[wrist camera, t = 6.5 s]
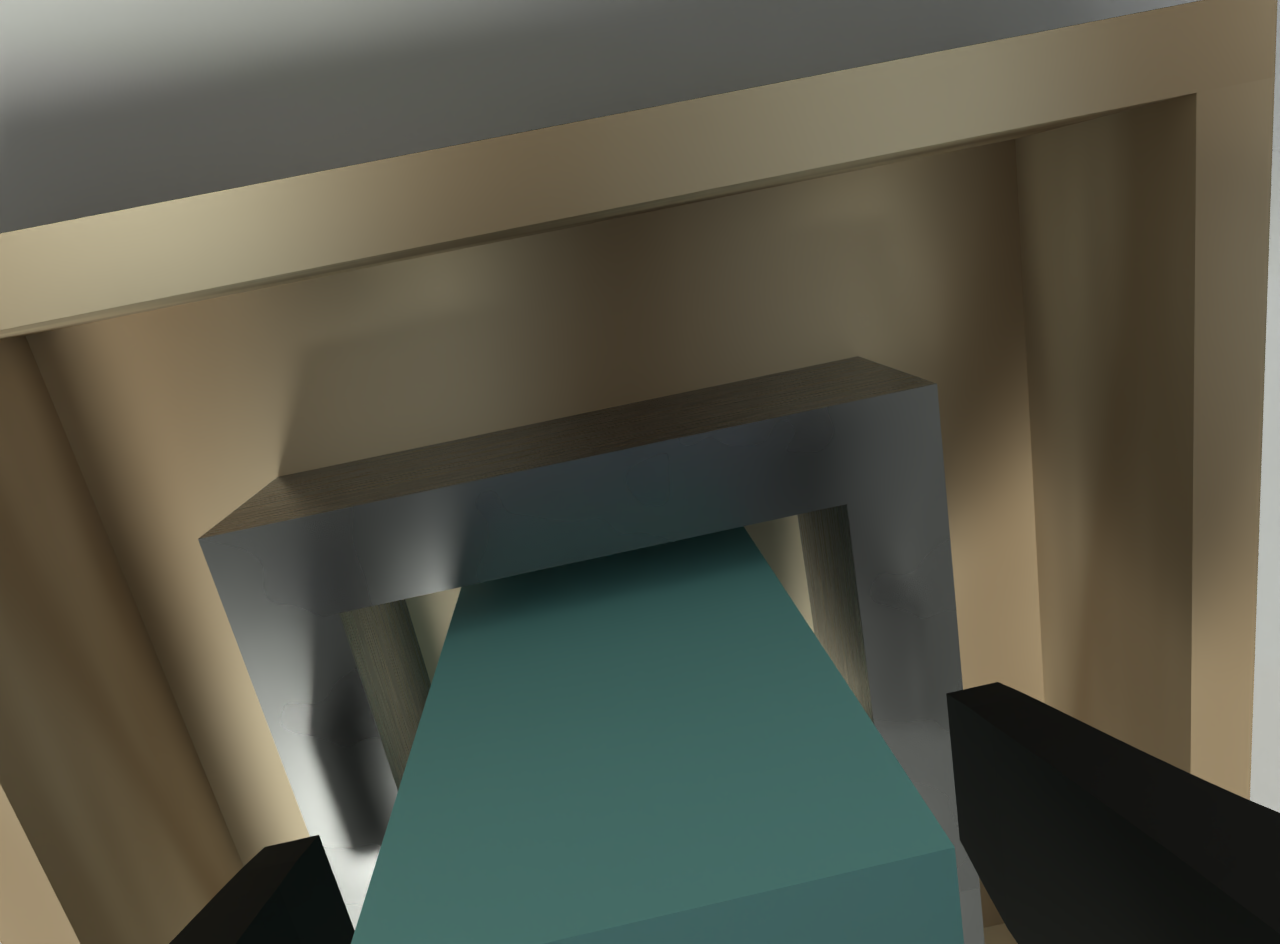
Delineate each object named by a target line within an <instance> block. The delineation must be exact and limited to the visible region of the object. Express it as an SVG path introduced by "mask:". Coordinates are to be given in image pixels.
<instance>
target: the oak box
mask: <svg viewBox="0 0 1280 944" xmlns="http://www.w3.org/2000/svg"><path fill="white" fill-rule="evenodd" d="M1276 24H1277V0H1202V1H1196V2H1191V3H1186V4H1181V5H1176V6H1171V7H1165V8H1160V9H1155V10H1150V11H1145V12H1140V13H1134V14H1129V15H1124V16H1119V17H1114V18H1109V19H1104V20H1098V21H1093V22H1088V23H1083V24H1078V25H1073V26H1067V27H1062V28H1057V29H1052V30H1047V31H1042V32H1037V33H1031V34H1026V35H1021V36H1016V37H1011V38H1006V39H1000V40H995V41H990V42H985V43H980V44H975V45H970V46H964V47H959V48H954V49H949V50H944V51H939V52H933V53H928V54H923V55H918V56H913V57H908V58H903V59H897V60H892V61H887V62H882V63H877V64H872V65H866V66H861V67H856V68H851V69H846V70H841V71H835V72H830V73H825V74H820V75H815V76H810V77H805V78H799V79H794V80H789V81H784V82H779V83H774V84H768V85H763V86H758V87H753V88H748V89H743V90H738V91H732V92H727V93H722V94H717V95H712V96H707V97H701V98H696V99H691V100H686V101H681V102H676V103H671V104H665V105H660V106H655V107H650V108H645V109H640V110H634V111H629V112H624V113H619V114H614V115H609V116H603V117H598V118H593V119H588V120H583V121H578V122H573V123H567V124H562V125H557V126H552V127H547V128H542V129H536V130H531V131H526V132H521V133H516V134H511V135H506V136H500V137H495V138H490V139H485V140H480V141H475V142H469V143H464V144H459V145H454V146H449V147H444V148H439V149H433V150H428V151H423V152H418V153H413V154H408V155H402V156H397V157H392V158H387V159H382V160H377V161H372V162H366V163H361V164H356V165H351V166H346V167H341V168H335V169H330V170H325V171H320V172H315V173H310V174H304V175H299V176H294V177H289V178H284V179H279V180H274V181H268V182H263V183H258V184H253V185H248V186H243V187H237V188H232V189H227V190H222V191H217V192H212V193H207V194H201V195H196V196H191V197H186V198H181V199H176V200H170V201H165V202H160V203H155V204H150V205H145V206H140V207H134V208H129V209H124V210H119V211H114V212H109V213H103V214H98V215H93V216H88V217H83V218H78V219H72V220H67V221H62V222H57V223H52V224H47V225H42V226H36V227H31V228H26V229H21V230H16V231H11V232H5V233H0V942H1V944H169V943H170V942H171V941H172V940H173V939H174V938H175V937H176V936H177V935H178V934H179V933H180V932H181V931H182V930H183V929H184V927H185V926H186V925H187V924H188V923H189V922H190V921H191V920H192V919H193V918H194V917H195V916H196V915H197V914H198V913H199V912H200V911H201V910H202V909H203V908H204V907H205V905H206V904H207V903H208V902H209V901H210V900H211V899H212V898H213V897H214V896H215V895H216V894H217V893H218V892H219V891H220V890H221V889H222V888H223V887H224V886H225V885H226V884H227V883H228V882H229V881H230V880H231V879H232V878H233V877H234V876H235V875H236V874H237V873H238V872H239V871H240V870H241V869H242V868H243V867H244V866H245V865H246V864H247V863H248V862H249V861H250V860H251V859H252V858H253V857H254V856H255V855H256V854H258V853H259V852H260V851H261V850H262V849H263V848H264V847H267V846H271V845H276V844H280V843H285V842H289V841H293V840H298V839H302V838H307V837H310V835H309V833H308V830H307V827H306V825H305V822H304V820H303V817H302V814H301V812H300V809H299V806H298V804H297V801H296V798H295V796H294V793H293V790H292V788H291V785H290V782H289V780H288V777H287V774H286V772H285V769H284V766H283V764H282V761H281V759H280V756H279V753H278V751H277V748H276V745H275V743H274V740H273V737H272V735H271V732H270V729H269V727H268V724H267V721H266V719H265V716H264V713H263V711H262V708H261V705H260V703H259V700H258V697H257V695H256V692H255V690H254V687H253V684H252V682H251V679H250V676H249V674H248V671H247V668H246V666H245V663H244V660H243V658H242V655H241V652H240V650H239V647H238V644H237V642H236V639H235V636H234V634H233V631H232V628H231V626H230V623H229V621H228V618H227V615H226V613H225V610H224V607H223V605H222V602H221V599H220V597H219V594H218V591H217V589H216V586H215V583H214V581H213V578H212V575H211V573H210V570H209V567H208V565H207V562H206V559H205V557H204V554H203V552H202V549H201V546H200V544H199V541H198V538H200V537H201V536H202V535H204V534H205V533H206V532H207V531H209V530H210V529H211V528H213V527H214V526H215V525H216V524H218V523H219V522H220V521H222V520H223V519H224V518H225V517H227V516H228V515H229V514H231V513H232V512H233V511H234V510H236V509H237V508H238V507H240V506H241V505H242V504H243V503H245V502H246V501H247V500H249V499H250V498H251V497H252V496H254V495H255V494H256V493H258V492H259V491H260V490H261V489H263V488H264V487H265V486H267V485H268V484H269V483H270V482H272V481H273V480H274V479H276V478H277V477H279V476H284V475H289V474H294V473H299V472H303V471H308V470H313V469H318V468H323V467H328V466H332V465H337V464H342V463H347V462H352V461H356V460H361V459H366V458H371V457H376V456H380V455H385V454H390V453H395V452H400V451H404V450H409V449H414V448H419V447H424V446H429V445H433V444H438V443H443V442H448V441H453V440H457V439H462V438H467V437H472V436H477V435H481V434H486V433H491V432H496V431H501V430H505V429H510V428H515V427H520V426H525V425H529V424H534V423H539V422H544V421H549V420H554V419H558V418H563V417H568V416H573V415H578V414H582V413H587V412H592V411H597V410H602V409H606V408H611V407H616V406H621V405H626V404H630V403H635V402H640V401H645V400H650V399H655V398H659V397H664V396H669V395H674V394H679V393H683V392H688V391H693V390H698V389H703V388H707V387H712V386H717V385H722V384H727V383H731V382H736V381H741V380H746V379H751V378H755V377H760V376H765V375H770V374H775V373H780V372H784V371H789V370H794V369H799V368H804V367H808V366H813V365H818V364H823V363H828V362H832V361H837V360H842V359H847V358H852V357H856V356H859V357H862V358H865V359H868V360H870V361H873V362H876V363H879V364H882V365H885V366H888V367H891V368H893V369H896V370H899V371H902V372H905V373H908V374H911V375H914V376H917V377H919V378H922V379H925V380H928V381H931V382H934V383H937V388H938V400H939V412H940V424H941V435H942V447H943V459H944V471H945V482H946V494H947V506H948V518H949V529H950V541H951V553H952V565H953V576H954V588H955V600H956V612H957V623H958V635H959V647H960V659H961V671H962V682H963V690H964V689H968V688H973V687H977V686H982V685H986V684H990V683H995V682H999V683H1002V684H1004V685H1006V686H1009V687H1011V688H1013V689H1015V690H1018V691H1020V692H1022V693H1024V694H1026V695H1028V696H1030V697H1033V698H1035V699H1037V700H1039V701H1041V702H1043V703H1045V704H1047V705H1049V706H1051V707H1053V708H1055V709H1057V710H1059V711H1061V712H1063V713H1066V714H1068V715H1070V716H1072V717H1074V718H1076V719H1078V720H1080V721H1082V722H1084V723H1086V724H1088V725H1090V726H1092V727H1094V728H1096V729H1098V730H1100V731H1102V732H1104V733H1106V734H1108V735H1110V736H1112V737H1114V738H1116V739H1119V740H1121V741H1123V742H1125V743H1127V744H1129V745H1131V746H1133V747H1135V748H1137V749H1139V750H1141V751H1143V752H1146V753H1148V754H1150V755H1152V756H1154V757H1156V758H1158V759H1160V760H1162V761H1165V762H1167V763H1169V764H1171V765H1173V766H1175V767H1177V768H1179V769H1181V770H1184V771H1186V772H1188V773H1190V774H1192V775H1195V776H1197V777H1199V778H1201V779H1203V780H1205V781H1208V782H1210V783H1212V784H1214V785H1216V786H1219V787H1221V788H1223V789H1225V790H1228V791H1230V792H1232V793H1234V794H1237V795H1239V796H1241V797H1243V798H1246V799H1248V800H1250V777H1251V748H1252V719H1253V690H1254V661H1255V632H1256V603H1257V574H1258V545H1259V516H1260V487H1261V458H1262V429H1263V400H1264V372H1265V343H1266V314H1267V285H1268V256H1269V227H1270V198H1271V169H1272V140H1273V111H1274V82H1275V53H1276ZM744 528H745V529H746V531H747V532H748V534H749V535H750V537H751V538H752V540H753V541H754V543H755V544H756V546H757V548H758V549H759V551H760V552H761V554H762V555H763V557H764V558H765V560H766V561H767V563H768V564H769V566H770V567H771V569H772V570H773V572H774V573H775V575H776V576H777V578H778V579H779V581H780V582H781V584H782V585H783V587H784V589H785V590H786V592H787V593H788V595H789V596H790V598H791V599H792V601H793V602H794V604H795V605H796V607H797V608H798V610H799V611H800V613H801V614H802V616H803V617H804V619H805V620H806V622H807V623H808V625H809V627H810V628H811V630H812V631H813V633H814V628H813V621H812V614H811V607H810V600H809V593H808V586H807V579H806V572H805V565H804V558H803V551H802V544H801V537H800V530H799V523H798V516H797V515H794V516H789V517H784V518H780V519H775V520H770V521H766V522H761V523H756V524H752V525H747V526H744ZM460 590H461V587H459V588H454V589H449V590H445V591H440V592H436V593H431V594H426V595H422V596H417V597H412V598H408V599H405V600H406V604H407V607H408V610H409V614H410V617H411V620H412V623H413V627H414V630H415V633H416V637H417V640H418V643H419V647H420V650H421V653H422V656H423V660H424V663H425V666H426V670H427V673H428V676H429V679H430V683H432V680H433V677H434V674H435V670H436V667H437V664H438V661H439V658H440V654H441V651H442V648H443V645H444V641H445V638H446V635H447V632H448V628H449V625H450V622H451V619H452V616H453V612H454V609H455V606H456V603H457V599H458V596H459V593H460ZM979 882H980V894H981V906H982V917H983V929H984V941H985V944H1018V943H1017V942H1016V940H1015V939H1014V937H1013V936H1012V934H1011V933H1010V931H1009V930H1008V928H1007V927H1006V925H1005V923H1004V921H1003V920H1002V918H1001V916H1000V914H999V912H998V911H997V909H996V907H995V905H994V903H993V902H992V900H991V898H990V896H989V894H988V893H987V891H986V889H985V887H984V885H983V883H982V881H981V879H980V878H979Z"/></svg>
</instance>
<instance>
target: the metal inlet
mask: <svg viewBox="0 0 1280 944" xmlns="http://www.w3.org/2000/svg"><path fill="white" fill-rule="evenodd" d="M794 515H797V516H798V523H799V530H800V537H801V544H802V551H803V558H804V565H805V572H806V579H807V586H808V593H809V600H810V607H811V614H812V621H813V628H814V634H815V636H816V637H817V639H818V640H819V642H820V643H821V645H822V646H823V648H824V649H825V651H826V652H827V654H828V655H829V657H830V658H831V660H832V661H833V663H834V664H835V666H836V668H837V669H838V671H839V672H840V674H841V675H842V677H843V678H844V680H845V681H846V683H847V684H848V686H849V687H850V689H851V690H852V692H853V693H854V695H855V696H856V698H857V699H858V701H859V702H860V704H861V706H862V707H863V709H864V710H865V712H866V713H867V715H868V716H869V718H870V719H871V721H872V722H873V724H874V725H875V727H876V728H877V730H878V731H879V733H880V734H881V736H882V737H883V739H884V740H885V742H886V744H887V745H888V747H889V748H890V750H891V751H892V753H893V754H894V756H895V757H896V759H897V760H898V762H899V763H900V765H901V766H902V768H903V769H904V771H905V772H906V774H907V775H908V777H909V778H910V780H911V781H912V783H913V785H914V786H915V788H916V789H917V791H918V792H919V794H920V795H921V797H922V798H923V800H924V801H925V803H926V804H927V806H928V807H929V809H930V810H931V812H932V813H933V815H934V816H935V818H936V819H937V821H938V823H939V824H940V826H941V827H942V829H943V830H944V832H945V833H946V835H947V836H948V838H949V839H950V841H951V842H952V844H953V845H954V847H955V855H956V865H957V876H958V886H959V896H960V907H961V917H962V927H963V938H964V944H985V941H984V929H983V917H982V906H981V894H980V882H979V876H978V874H977V872H976V870H975V868H974V866H973V864H972V862H971V860H970V858H969V857H968V855H967V853H966V851H965V849H964V847H963V845H962V843H961V841H960V838H959V827H958V816H957V805H956V794H955V784H954V773H953V762H952V751H951V740H950V729H949V718H948V708H947V697H946V693H950V692H955V691H959V690H963V682H962V671H961V659H960V647H959V635H958V623H957V612H956V600H955V588H954V576H953V565H952V553H951V541H950V529H949V518H948V506H947V494H946V482H945V471H944V459H943V447H942V435H941V424H940V412H939V400H938V388H937V383H934V382H931V381H928V380H925V379H922V378H919V377H917V376H914V375H911V374H908V373H905V372H902V371H899V370H896V369H893V368H891V367H888V366H885V365H882V364H879V363H876V362H873V361H870V360H868V359H865V358H862V357H859V356H856V357H852V358H847V359H842V360H837V361H832V362H828V363H823V364H818V365H813V366H808V367H804V368H799V369H794V370H789V371H784V372H780V373H775V374H770V375H765V376H760V377H755V378H751V379H746V380H741V381H736V382H731V383H727V384H722V385H717V386H712V387H707V388H703V389H698V390H693V391H688V392H683V393H679V394H674V395H669V396H664V397H659V398H655V399H650V400H645V401H640V402H635V403H630V404H626V405H621V406H616V407H611V408H606V409H602V410H597V411H592V412H587V413H582V414H578V415H573V416H568V417H563V418H558V419H554V420H549V421H544V422H539V423H534V424H529V425H525V426H520V427H515V428H510V429H505V430H501V431H496V432H491V433H486V434H481V435H477V436H472V437H467V438H462V439H457V440H453V441H448V442H443V443H438V444H433V445H429V446H424V447H419V448H414V449H409V450H404V451H400V452H395V453H390V454H385V455H380V456H376V457H371V458H366V459H361V460H356V461H352V462H347V463H342V464H337V465H332V466H328V467H323V468H318V469H313V470H308V471H303V472H299V473H294V474H289V475H284V476H279V477H277V478H276V479H274V480H273V481H272V482H270V483H269V484H268V485H267V486H265V487H264V488H263V489H261V490H260V491H259V492H258V493H256V494H255V495H254V496H252V497H251V498H250V499H249V500H247V501H246V502H245V503H243V504H242V505H241V506H240V507H238V508H237V509H236V510H234V511H233V512H232V513H231V514H229V515H228V516H227V517H225V518H224V519H223V520H222V521H220V522H219V523H218V524H216V525H215V526H214V527H213V528H211V529H210V530H209V531H207V532H206V533H205V534H204V535H202V536H201V537H200V538H198V541H199V544H200V546H201V549H202V552H203V554H204V557H205V559H206V562H207V565H208V567H209V570H210V573H211V575H212V578H213V581H214V583H215V586H216V589H217V591H218V594H219V597H220V599H221V602H222V605H223V607H224V610H225V613H226V615H227V618H228V621H229V623H230V626H231V628H232V631H233V634H234V636H235V639H236V642H237V644H238V647H239V650H240V652H241V655H242V658H243V660H244V663H245V666H246V668H247V671H248V674H249V676H250V679H251V682H252V684H253V687H254V690H255V692H256V695H257V697H258V700H259V703H260V705H261V708H262V711H263V713H264V716H265V719H266V721H267V724H268V727H269V729H270V732H271V735H272V737H273V740H274V743H275V745H276V748H277V751H278V753H279V756H280V759H281V761H282V764H283V766H284V769H285V772H286V774H287V777H288V780H289V782H290V785H291V788H292V790H293V793H294V796H295V798H296V801H297V804H298V806H299V809H300V812H301V814H302V817H303V820H304V822H305V825H306V827H307V830H308V833H309V835H310V837H311V836H316V835H319V836H320V839H321V841H322V844H323V847H324V850H325V852H326V855H327V858H328V860H329V863H330V866H331V868H332V871H333V874H334V876H335V879H336V882H337V884H338V887H339V890H340V892H341V895H342V898H343V901H344V903H345V906H346V909H347V911H348V914H349V917H350V919H351V922H352V925H353V927H354V930H355V929H356V926H357V922H358V919H359V916H360V913H361V909H362V906H363V903H364V900H365V896H366V893H367V890H368V887H369V884H370V880H371V877H372V874H373V871H374V867H375V864H376V861H377V858H378V854H379V851H380V848H381V845H382V842H383V838H384V835H385V832H386V829H387V825H388V822H389V819H390V816H391V813H392V809H393V806H394V803H395V800H396V796H397V793H398V790H399V787H400V783H401V780H402V777H403V774H404V771H405V767H406V764H407V761H408V758H409V754H410V751H411V748H412V745H413V741H414V738H415V735H416V732H417V729H418V725H419V722H420V719H421V716H422V712H423V709H424V706H425V703H426V699H427V696H428V693H429V690H430V687H431V683H430V679H429V676H428V673H427V670H426V666H425V663H424V660H423V656H422V653H421V650H420V647H419V643H418V640H417V637H416V633H415V630H414V627H413V623H412V620H411V617H410V614H409V610H408V607H407V604H406V600H405V599H408V598H412V597H417V596H422V595H426V594H431V593H436V592H440V591H445V590H449V589H454V588H459V587H463V586H468V585H473V584H477V583H482V582H487V581H491V580H496V579H501V578H505V577H510V576H515V575H519V574H524V573H529V572H533V571H538V570H542V569H547V568H552V567H556V566H561V565H566V564H570V563H575V562H580V561H584V560H589V559H594V558H598V557H603V556H608V555H612V554H617V553H622V552H626V551H631V550H636V549H640V548H645V547H649V546H654V545H659V544H663V543H668V542H673V541H677V540H682V539H687V538H691V537H696V536H701V535H705V534H710V533H715V532H719V531H724V530H729V529H733V528H738V527H742V526H747V525H752V524H756V523H761V522H766V521H770V520H775V519H780V518H784V517H789V516H794Z"/></svg>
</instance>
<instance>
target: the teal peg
mask: <svg viewBox="0 0 1280 944" xmlns="http://www.w3.org/2000/svg"><path fill="white" fill-rule="evenodd" d="M351 944H964V938H963V927H962V917H961V907H960V896H959V886H958V876H957V865H956V855H955V847H954V845H953V844H952V842H951V841H950V839H949V838H948V836H947V835H946V833H945V832H944V830H943V829H942V827H941V826H940V824H939V823H938V821H937V819H936V818H935V816H934V815H933V813H932V812H931V810H930V809H929V807H928V806H927V804H926V803H925V801H924V800H923V798H922V797H921V795H920V794H919V792H918V791H917V789H916V788H915V786H914V785H913V783H912V781H911V780H910V778H909V777H908V775H907V774H906V772H905V771H904V769H903V768H902V766H901V765H900V763H899V762H898V760H897V759H896V757H895V756H894V754H893V753H892V751H891V750H890V748H889V747H888V745H887V744H886V742H885V740H884V739H883V737H882V736H881V734H880V733H879V731H878V730H877V728H876V727H875V725H874V724H873V722H872V721H871V719H870V718H869V716H868V715H867V713H866V712H865V710H864V709H863V707H862V706H861V704H860V702H859V701H858V699H857V698H856V696H855V695H854V693H853V692H852V690H851V689H850V687H849V686H848V684H847V683H846V681H845V680H844V678H843V677H842V675H841V674H840V672H839V671H838V669H837V668H836V666H835V664H834V663H833V661H832V660H831V658H830V657H829V655H828V654H827V652H826V651H825V649H824V648H823V646H822V645H821V643H820V642H819V640H818V639H817V637H816V636H815V634H814V633H813V631H812V630H811V628H810V627H809V625H808V623H807V622H806V620H805V619H804V617H803V616H802V614H801V613H800V611H799V610H798V608H797V607H796V605H795V604H794V602H793V601H792V599H791V598H790V596H789V595H788V593H787V592H786V590H785V589H784V587H783V585H782V584H781V582H780V581H779V579H778V578H777V576H776V575H775V573H774V572H773V570H772V569H771V567H770V566H769V564H768V563H767V561H766V560H765V558H764V557H763V555H762V554H761V552H760V551H759V549H758V548H757V546H756V544H755V543H754V541H753V540H752V538H751V537H750V535H749V534H748V532H747V531H746V529H745V528H744V526H742V527H738V528H733V529H729V530H724V531H719V532H715V533H710V534H705V535H701V536H696V537H691V538H687V539H682V540H677V541H673V542H668V543H663V544H659V545H654V546H649V547H645V548H640V549H636V550H631V551H626V552H622V553H617V554H612V555H608V556H603V557H598V558H594V559H589V560H584V561H580V562H575V563H570V564H566V565H561V566H556V567H552V568H547V569H542V570H538V571H533V572H529V573H524V574H519V575H515V576H510V577H505V578H501V579H496V580H491V581H487V582H482V583H477V584H473V585H468V586H463V587H461V590H460V593H459V596H458V599H457V603H456V606H455V609H454V612H453V616H452V619H451V622H450V625H449V628H448V632H447V635H446V638H445V641H444V645H443V648H442V651H441V654H440V658H439V661H438V664H437V667H436V670H435V674H434V677H433V680H432V683H431V687H430V690H429V693H428V696H427V699H426V703H425V706H424V709H423V712H422V716H421V719H420V722H419V725H418V729H417V732H416V735H415V738H414V741H413V745H412V748H411V751H410V754H409V758H408V761H407V764H406V767H405V771H404V774H403V777H402V780H401V783H400V787H399V790H398V793H397V796H396V800H395V803H394V806H393V809H392V813H391V816H390V819H389V822H388V825H387V829H386V832H385V835H384V838H383V842H382V845H381V848H380V851H379V854H378V858H377V861H376V864H375V867H374V871H373V874H372V877H371V880H370V884H369V887H368V890H367V893H366V896H365V900H364V903H363V906H362V909H361V913H360V916H359V919H358V922H357V926H356V929H355V932H354V935H353V938H352V942H351Z"/></svg>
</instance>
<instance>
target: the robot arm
mask: <svg viewBox="0 0 1280 944" xmlns="http://www.w3.org/2000/svg"><path fill="white" fill-rule="evenodd" d="M946 697H947V708H948V718H949V729H950V740H951V751H952V762H953V773H954V784H955V794H956V805H957V816H958V827H959V838H960V841H961V843H962V845H963V847H964V849H965V851H966V853H967V855H968V857H969V858H970V860H971V862H972V864H973V866H974V868H975V870H976V872H977V874H978V876H979V878H980V879H981V881H982V883H983V885H984V887H985V889H986V891H987V893H988V894H989V896H990V898H991V900H992V902H993V903H994V905H995V907H996V909H997V911H998V912H999V914H1000V916H1001V918H1002V920H1003V921H1004V923H1005V925H1006V927H1007V928H1008V930H1009V931H1010V933H1011V934H1012V936H1013V937H1014V939H1015V940H1016V942H1017V943H1018V944H1280V813H1278V812H1276V811H1274V810H1271V809H1269V808H1267V807H1264V806H1262V805H1259V804H1257V803H1255V802H1252V801H1250V800H1248V799H1246V798H1243V797H1241V796H1239V795H1237V794H1234V793H1232V792H1230V791H1228V790H1225V789H1223V788H1221V787H1219V786H1216V785H1214V784H1212V783H1210V782H1208V781H1205V780H1203V779H1201V778H1199V777H1197V776H1195V775H1192V774H1190V773H1188V772H1186V771H1184V770H1181V769H1179V768H1177V767H1175V766H1173V765H1171V764H1169V763H1167V762H1165V761H1162V760H1160V759H1158V758H1156V757H1154V756H1152V755H1150V754H1148V753H1146V752H1143V751H1141V750H1139V749H1137V748H1135V747H1133V746H1131V745H1129V744H1127V743H1125V742H1123V741H1121V740H1119V739H1116V738H1114V737H1112V736H1110V735H1108V734H1106V733H1104V732H1102V731H1100V730H1098V729H1096V728H1094V727H1092V726H1090V725H1088V724H1086V723H1084V722H1082V721H1080V720H1078V719H1076V718H1074V717H1072V716H1070V715H1068V714H1066V713H1063V712H1061V711H1059V710H1057V709H1055V708H1053V707H1051V706H1049V705H1047V704H1045V703H1043V702H1041V701H1039V700H1037V699H1035V698H1033V697H1030V696H1028V695H1026V694H1024V693H1022V692H1020V691H1018V690H1015V689H1013V688H1011V687H1009V686H1006V685H1004V684H1002V683H999V682H995V683H990V684H986V685H982V686H977V687H973V688H968V689H964V690H959V691H955V692H950V693H946ZM354 932H355V930H354V927H353V925H352V922H351V919H350V917H349V914H348V911H347V909H346V906H345V903H344V901H343V898H342V895H341V892H340V890H339V887H338V884H337V882H336V879H335V876H334V874H333V871H332V868H331V866H330V863H329V860H328V858H327V855H326V852H325V850H324V847H323V844H322V841H321V839H320V836H319V835H316V836H311V837H307V838H302V839H298V840H293V841H289V842H285V843H280V844H276V845H271V846H267V847H264V848H263V849H262V850H261V851H260V852H259V853H258V854H256V855H255V856H254V857H253V858H252V859H251V860H250V861H249V862H248V863H247V864H246V865H245V866H244V867H243V868H242V869H241V870H240V871H239V872H238V873H237V874H236V875H235V876H234V877H233V878H232V879H231V880H230V881H229V882H228V883H227V884H226V885H225V886H224V887H223V888H222V889H221V890H220V891H219V892H218V893H217V894H216V895H215V896H214V897H213V898H212V899H211V900H210V901H209V902H208V903H207V904H206V905H205V907H204V908H203V909H202V910H201V911H200V912H199V913H198V914H197V915H196V916H195V917H194V918H193V919H192V920H191V921H190V922H189V923H188V924H187V925H186V926H185V927H184V929H183V930H182V931H181V932H180V933H179V934H178V935H177V936H176V937H175V938H174V939H173V940H172V941H171V942H170V943H169V944H351V942H352V938H353V935H354Z"/></svg>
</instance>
